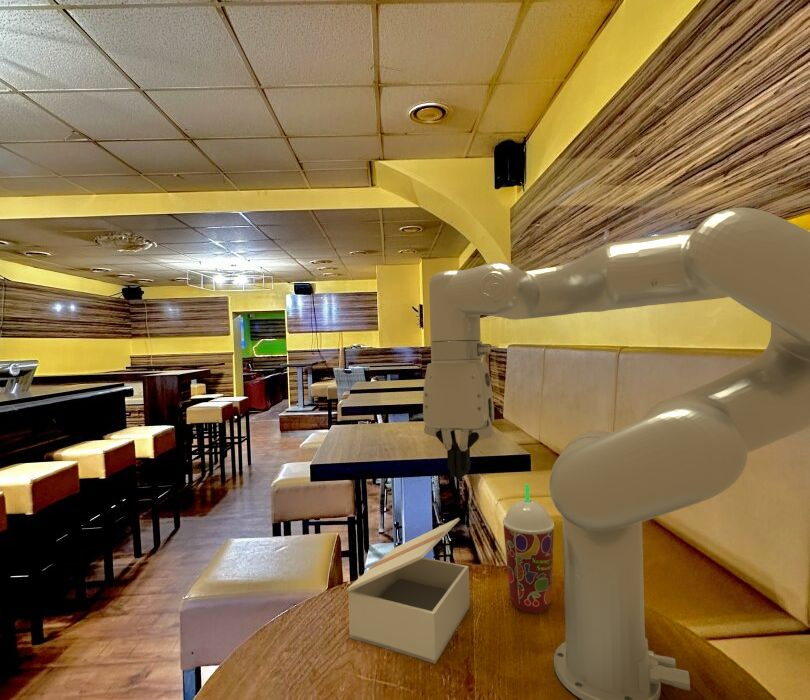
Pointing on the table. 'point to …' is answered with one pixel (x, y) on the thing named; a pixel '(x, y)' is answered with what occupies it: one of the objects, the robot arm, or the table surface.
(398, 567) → the lid
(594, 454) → the robot arm
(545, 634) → the table surface
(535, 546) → the smoothie
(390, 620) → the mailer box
